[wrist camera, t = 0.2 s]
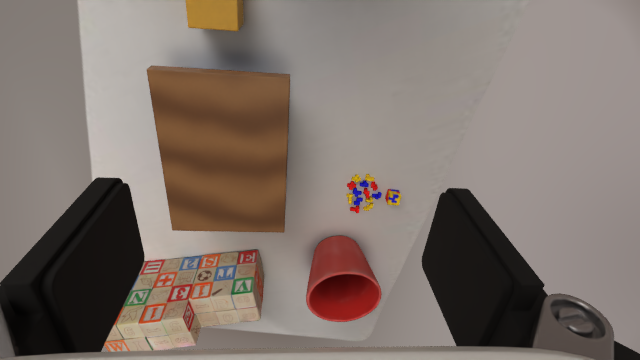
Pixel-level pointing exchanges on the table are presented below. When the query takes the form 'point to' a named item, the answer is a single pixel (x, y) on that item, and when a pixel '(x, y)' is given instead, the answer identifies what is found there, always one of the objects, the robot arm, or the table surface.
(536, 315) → the robot arm
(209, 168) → the wooden board
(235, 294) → the stack of blocks
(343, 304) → the flower pot
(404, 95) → the table surface
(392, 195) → the building blocks
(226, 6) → the mustard block
